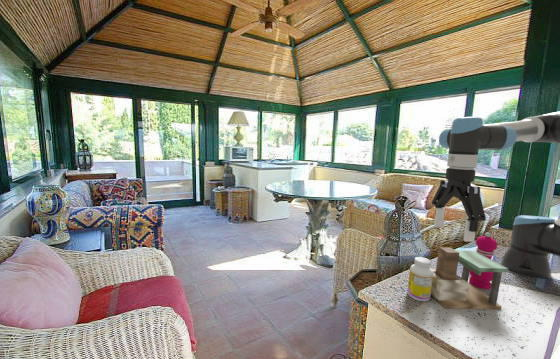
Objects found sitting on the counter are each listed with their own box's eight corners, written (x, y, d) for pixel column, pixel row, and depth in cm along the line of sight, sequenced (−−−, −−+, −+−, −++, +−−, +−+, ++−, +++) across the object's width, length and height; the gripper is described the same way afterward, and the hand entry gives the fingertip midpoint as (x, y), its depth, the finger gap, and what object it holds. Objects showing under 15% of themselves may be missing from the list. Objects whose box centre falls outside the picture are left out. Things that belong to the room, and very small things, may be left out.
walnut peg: (433, 288, 87) (439, 247, 85) (444, 288, 87) (450, 247, 85) (441, 295, 83) (447, 252, 81) (452, 295, 83) (459, 252, 81)
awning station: (467, 284, 93) (473, 250, 91) (502, 309, 79) (509, 269, 77) (417, 283, 92) (421, 248, 90) (443, 308, 78) (449, 268, 76)
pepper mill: (496, 291, 89) (506, 237, 86) (473, 288, 90) (482, 234, 87) (484, 281, 96) (493, 230, 93) (463, 278, 97) (471, 228, 94)
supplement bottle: (409, 288, 88) (414, 253, 86) (431, 296, 84) (436, 259, 82) (404, 296, 83) (409, 259, 81) (427, 305, 79) (433, 266, 77)
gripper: (425, 164, 91) (418, 221, 94) (482, 172, 66) (471, 248, 69) (445, 165, 91) (438, 221, 94) (509, 173, 67) (497, 249, 70)
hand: (452, 233), depth 82 cm, fingers open, 13 cm apart
